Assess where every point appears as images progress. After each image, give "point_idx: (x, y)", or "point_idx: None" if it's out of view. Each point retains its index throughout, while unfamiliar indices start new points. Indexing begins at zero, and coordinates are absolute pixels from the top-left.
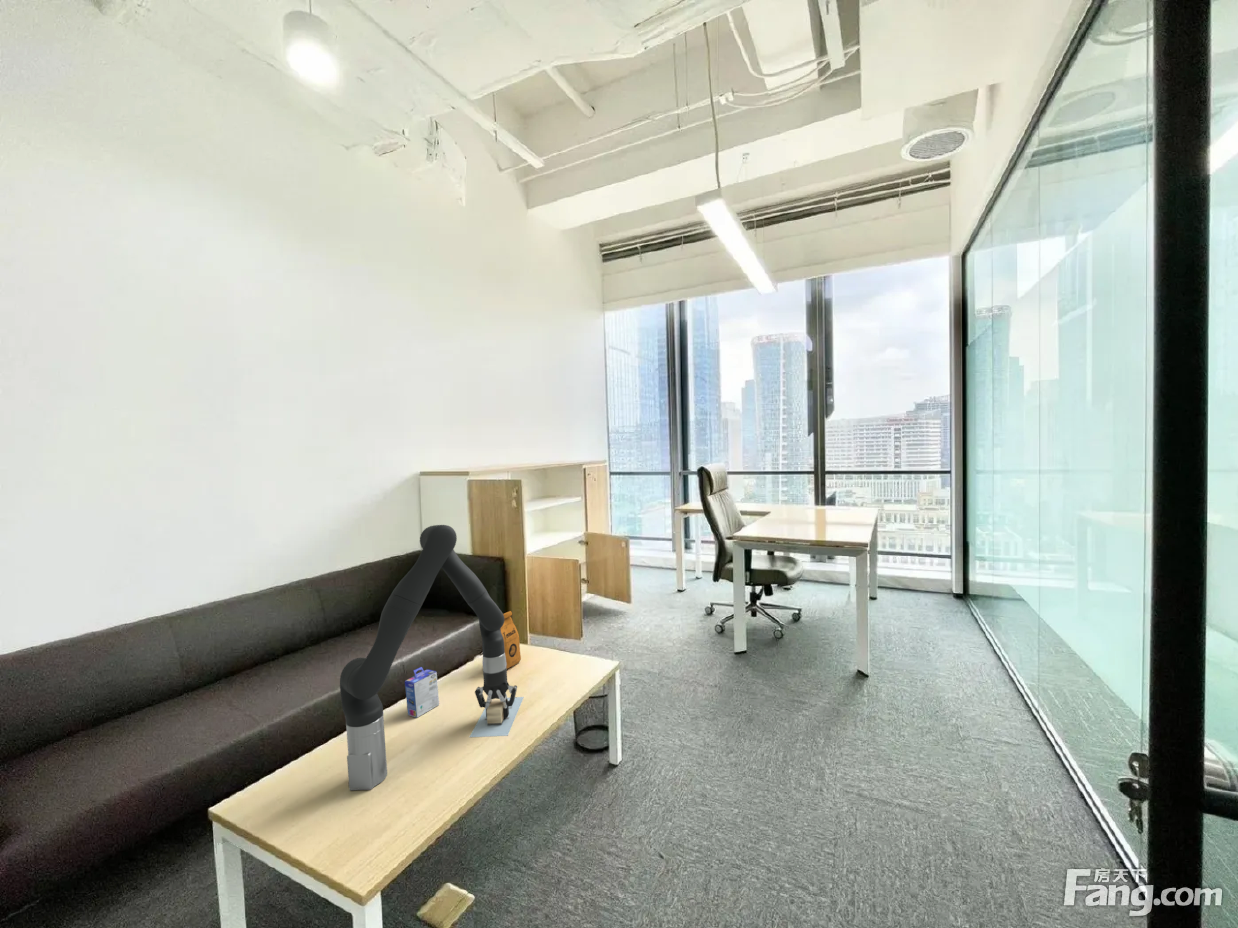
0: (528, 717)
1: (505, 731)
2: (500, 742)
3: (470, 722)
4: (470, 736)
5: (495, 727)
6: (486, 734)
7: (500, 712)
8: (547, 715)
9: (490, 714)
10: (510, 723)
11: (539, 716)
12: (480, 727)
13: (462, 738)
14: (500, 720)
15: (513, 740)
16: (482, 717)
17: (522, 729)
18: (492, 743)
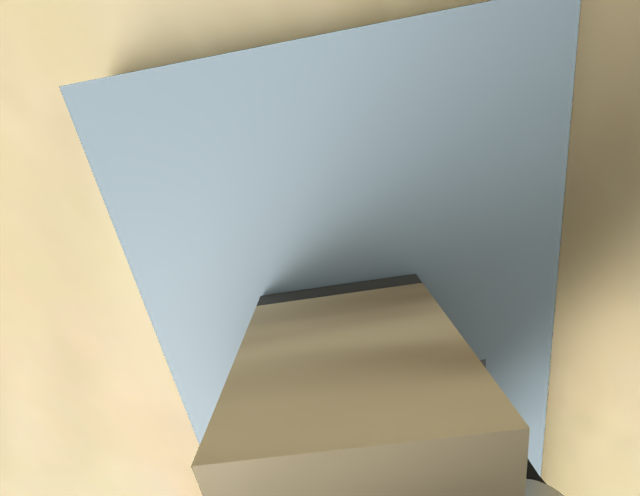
0: (135, 441)
1: (143, 173)
2: (161, 42)
3: (608, 351)
4: (564, 7)
5: (305, 242)
6: (353, 82)
7: (219, 404)
8: (6, 470)
9: (406, 359)
10: (178, 325)
11: (58, 457)
12: (486, 228)
13: (636, 78)
14: (259, 320)
15: (43, 98)
16: (519, 396)
17: (77, 290)
18: (243, 9)
